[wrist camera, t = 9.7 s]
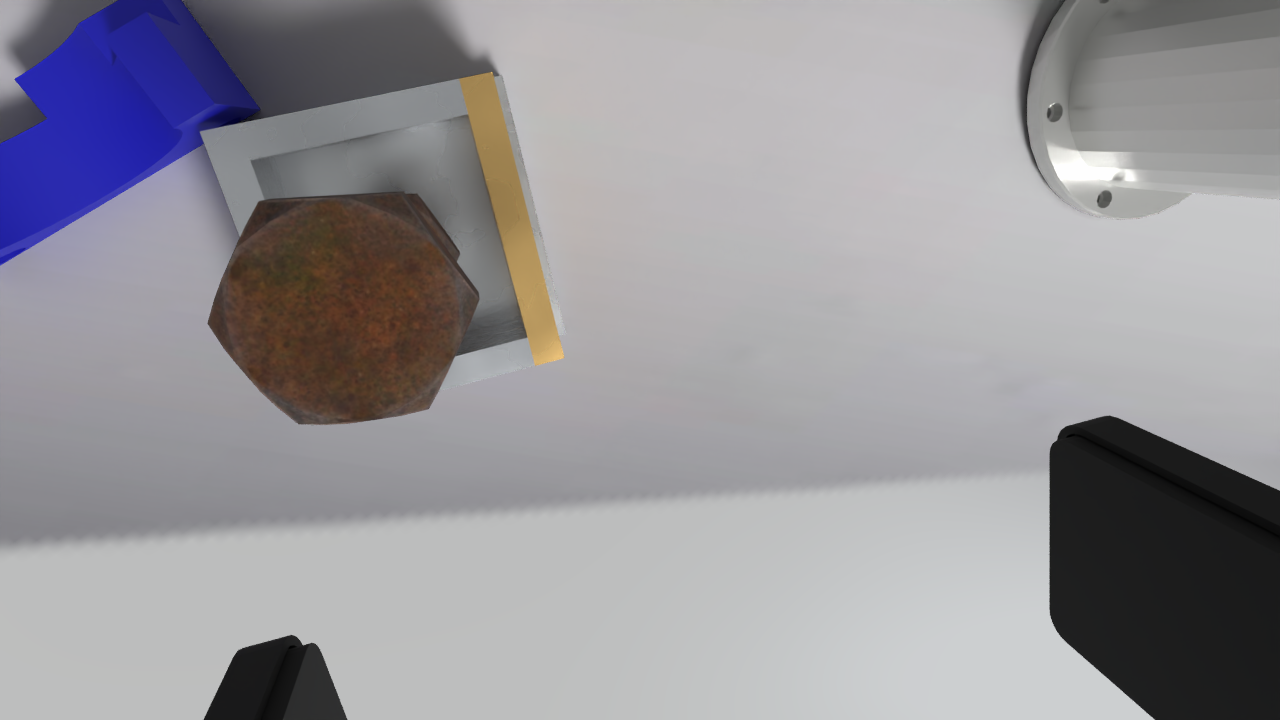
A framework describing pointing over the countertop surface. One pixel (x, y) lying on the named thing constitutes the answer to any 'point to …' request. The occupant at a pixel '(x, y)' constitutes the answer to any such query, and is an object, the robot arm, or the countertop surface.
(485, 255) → the shallow open tray
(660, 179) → the countertop surface
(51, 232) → the cable clip
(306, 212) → the bolt
